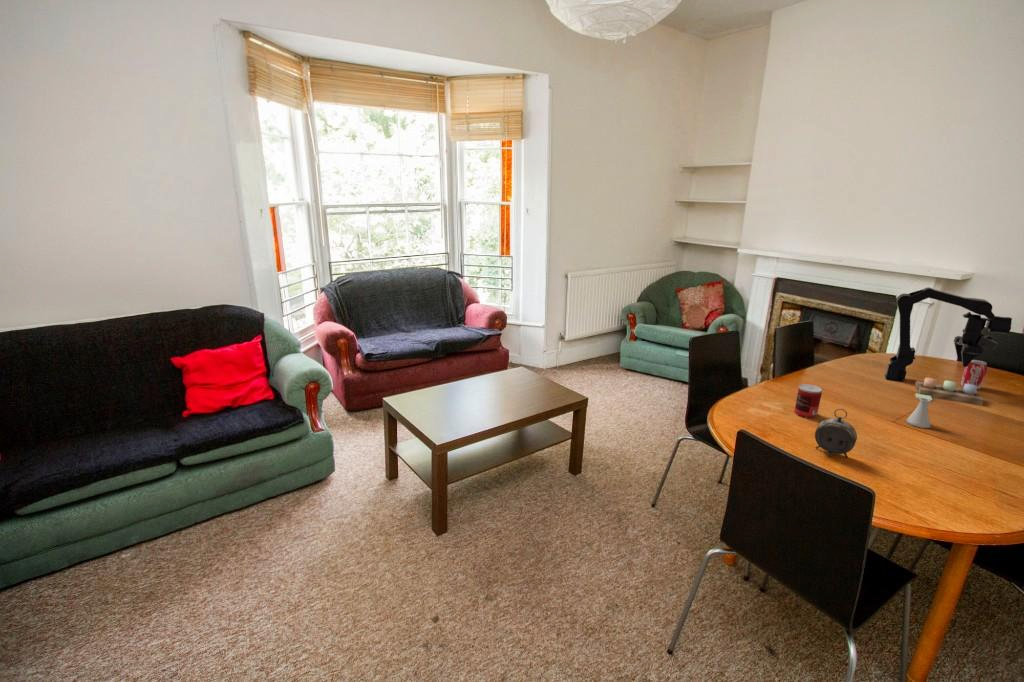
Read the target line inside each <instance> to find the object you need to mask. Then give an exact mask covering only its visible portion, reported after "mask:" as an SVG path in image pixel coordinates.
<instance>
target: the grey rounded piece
mask: <svg viewBox="0 0 1024 682" xmlns="http://www.w3.org/2000/svg"><path fill="white" fill-rule="evenodd" d="M962 388H963V391H962V393H963V394H967V395H974V396H975V393H976V391H977V390H978V389H977V386H976V385H973V384H964V387H963V386H962Z"/></svg>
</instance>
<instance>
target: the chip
mask: <svg viewBox="0 0 1024 682" xmlns="http://www.w3.org/2000/svg"><path fill="white" fill-rule="evenodd" d="M914 396H915V398H916V399H917V400H920V399H919V398H926V399H929V400H930V402H933V397H931V396H929V395H923V394H919V393H918V392H916V393H915V394H914Z"/></svg>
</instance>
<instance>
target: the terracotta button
mask: <svg viewBox="0 0 1024 682" xmlns="http://www.w3.org/2000/svg"><path fill="white" fill-rule="evenodd" d="M937 381H938V380H937V379H936V378H932V377H924V380H923V382H924V383H923V387H924V388H930V389H935V386H936V384H937Z"/></svg>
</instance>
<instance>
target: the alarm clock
mask: <svg viewBox="0 0 1024 682" xmlns="http://www.w3.org/2000/svg"><path fill="white" fill-rule="evenodd" d="M840 410H841V411H843V412H845V416H844V417H841V416H837V415H836V414H837V411H840ZM834 416H835V418H834V417H831V418H826V419H824V420H822V421H820V422H819V423H818V425H817V427H816V430H815V432H814V439H815V441H816V443H817V446H816V447H815V449H816V450H817V449H818V448H821V449H822V450H823V451H825V452H827V453H828V457H829V458H830V457H832V455H844V456H845V458H846V459H848V458H849V456H848V454H847V453H849V452H851V451H852V450H853V449H854V447H855V445H856V444H857V443H856V442H857V440H858V436H857V431H856V429H855V428H854V426H853V425H851V423H849V422H848V421H846V420H844V419H846V418H847V416H848V412H847V411H846V410H845V409H844V408H837V409H835V411H834Z"/></svg>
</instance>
